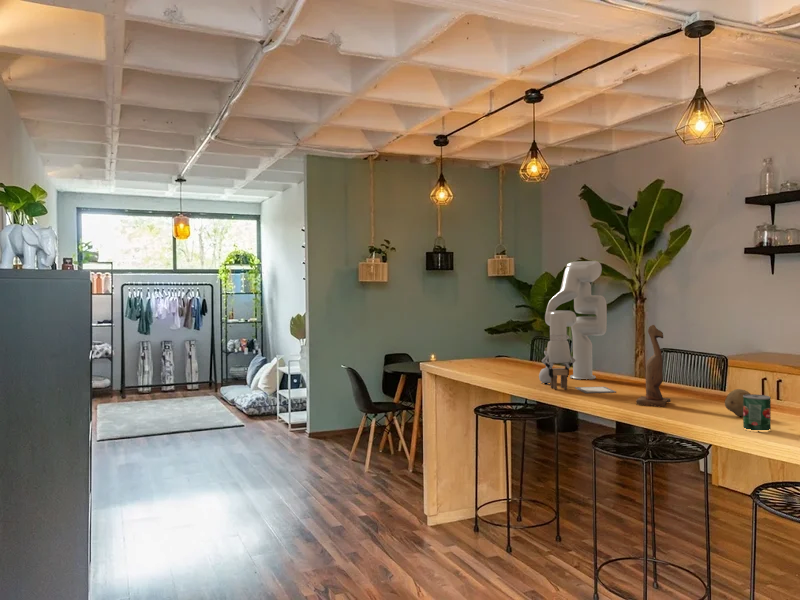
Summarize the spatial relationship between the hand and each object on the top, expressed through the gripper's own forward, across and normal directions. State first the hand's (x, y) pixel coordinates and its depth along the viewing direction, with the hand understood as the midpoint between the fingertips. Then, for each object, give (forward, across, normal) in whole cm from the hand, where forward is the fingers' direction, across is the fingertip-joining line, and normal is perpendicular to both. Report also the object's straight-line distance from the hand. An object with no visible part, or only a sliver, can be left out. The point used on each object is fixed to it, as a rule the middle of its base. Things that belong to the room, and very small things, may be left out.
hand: (558, 376), depth 294 cm
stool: (+5, 0, 0) cm, 5 cm away
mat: (+6, -15, +6) cm, 17 cm away
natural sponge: (+6, -45, +68) cm, 82 cm away
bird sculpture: (+6, -26, +41) cm, 49 cm away
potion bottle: (+6, 0, -17) cm, 18 cm away
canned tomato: (+5, -39, +88) cm, 97 cm away
